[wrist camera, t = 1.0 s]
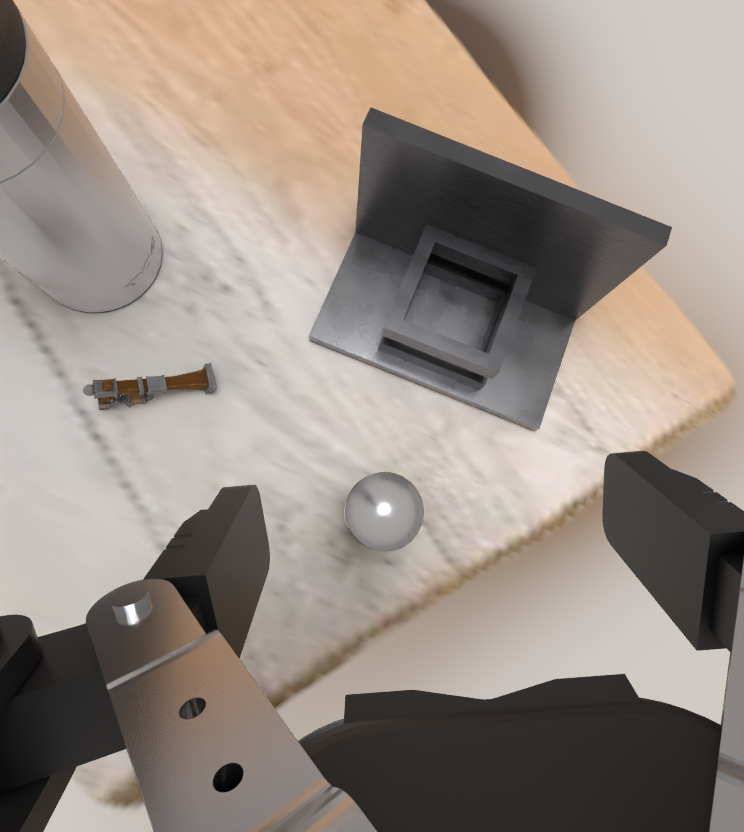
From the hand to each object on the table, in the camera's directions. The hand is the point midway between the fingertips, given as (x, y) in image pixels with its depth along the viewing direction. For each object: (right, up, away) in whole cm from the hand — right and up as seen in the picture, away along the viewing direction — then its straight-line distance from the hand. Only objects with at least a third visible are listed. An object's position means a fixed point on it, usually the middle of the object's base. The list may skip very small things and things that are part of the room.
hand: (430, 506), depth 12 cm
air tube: (-1, -5, +24) cm, 25 cm away
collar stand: (+5, +10, +27) cm, 29 cm away
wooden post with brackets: (-16, +3, +25) cm, 30 cm away
